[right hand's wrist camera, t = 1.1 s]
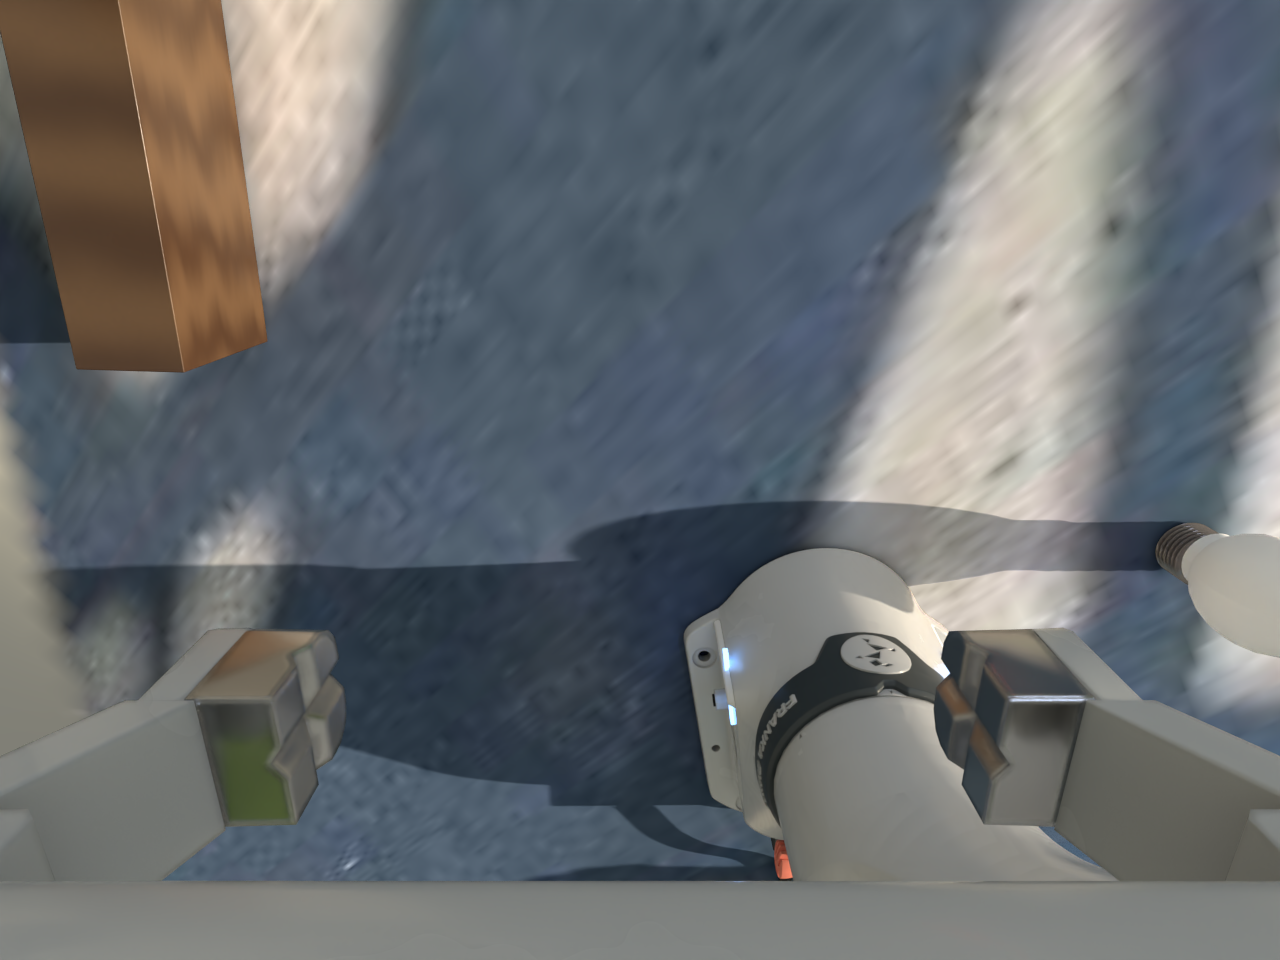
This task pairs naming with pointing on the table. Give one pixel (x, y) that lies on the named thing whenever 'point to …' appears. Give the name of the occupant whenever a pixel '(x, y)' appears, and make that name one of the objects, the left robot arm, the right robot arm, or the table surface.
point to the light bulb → (1229, 581)
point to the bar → (138, 177)
